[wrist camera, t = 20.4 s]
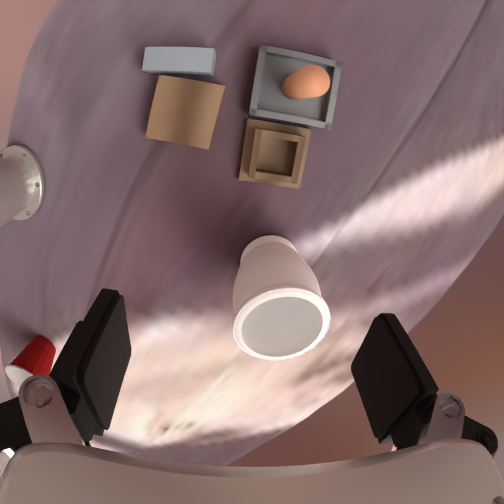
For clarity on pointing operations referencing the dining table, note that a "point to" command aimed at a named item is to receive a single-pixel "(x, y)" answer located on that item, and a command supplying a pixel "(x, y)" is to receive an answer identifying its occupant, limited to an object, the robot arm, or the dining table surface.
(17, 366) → the plastic cup
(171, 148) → the dining table surface
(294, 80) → the dowel
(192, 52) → the gray rectangular block
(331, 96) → the tray
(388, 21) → the dining table surface
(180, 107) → the tan wooden block
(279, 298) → the jar
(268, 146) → the holder
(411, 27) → the dining table surface
